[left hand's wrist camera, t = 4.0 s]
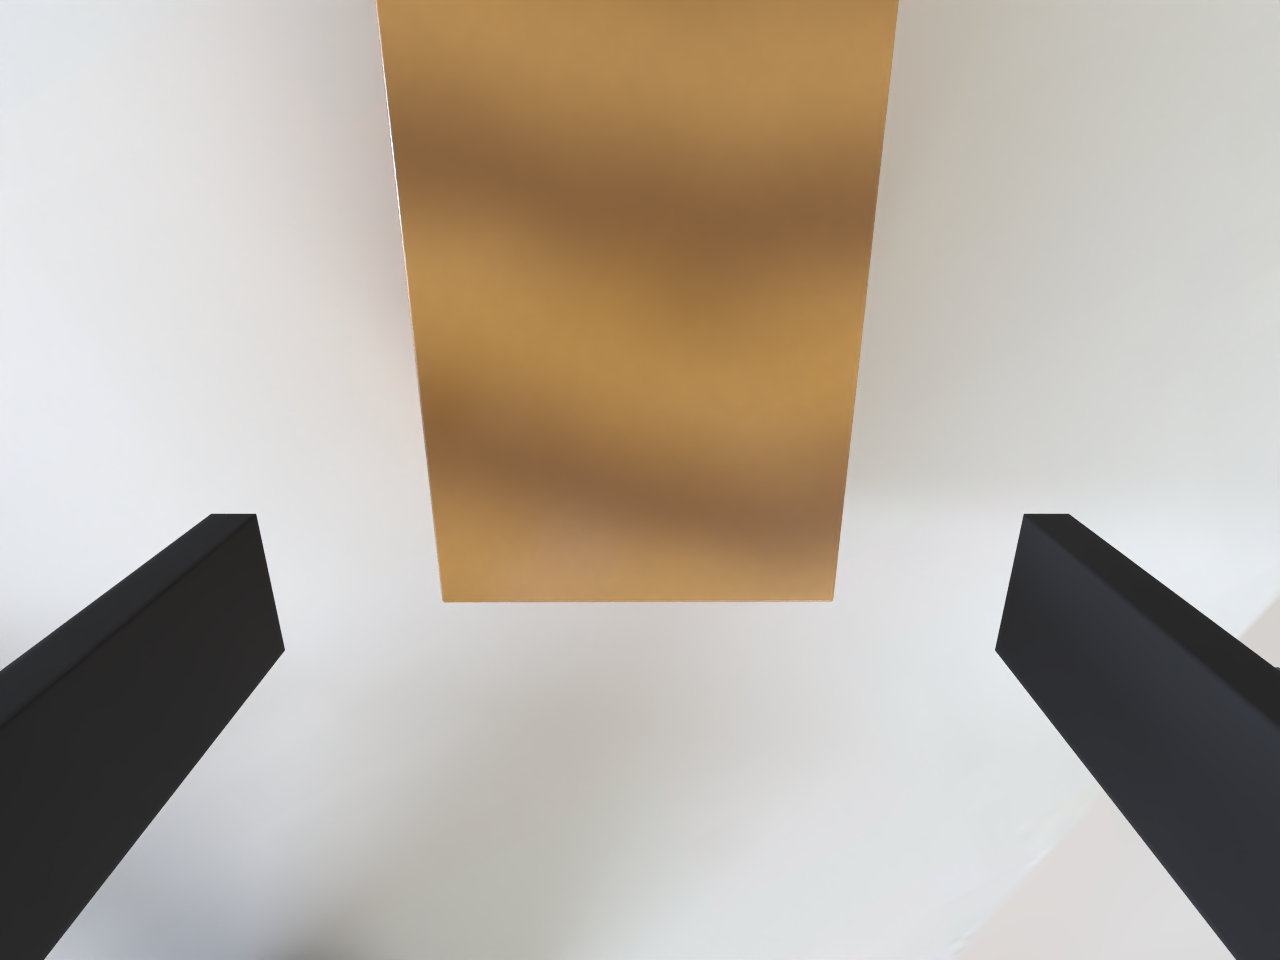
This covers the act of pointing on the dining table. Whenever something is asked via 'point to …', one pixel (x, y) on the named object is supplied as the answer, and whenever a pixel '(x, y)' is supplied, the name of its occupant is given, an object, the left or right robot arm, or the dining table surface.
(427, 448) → the cabinet
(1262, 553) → the dining table surface
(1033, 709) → the dining table surface
